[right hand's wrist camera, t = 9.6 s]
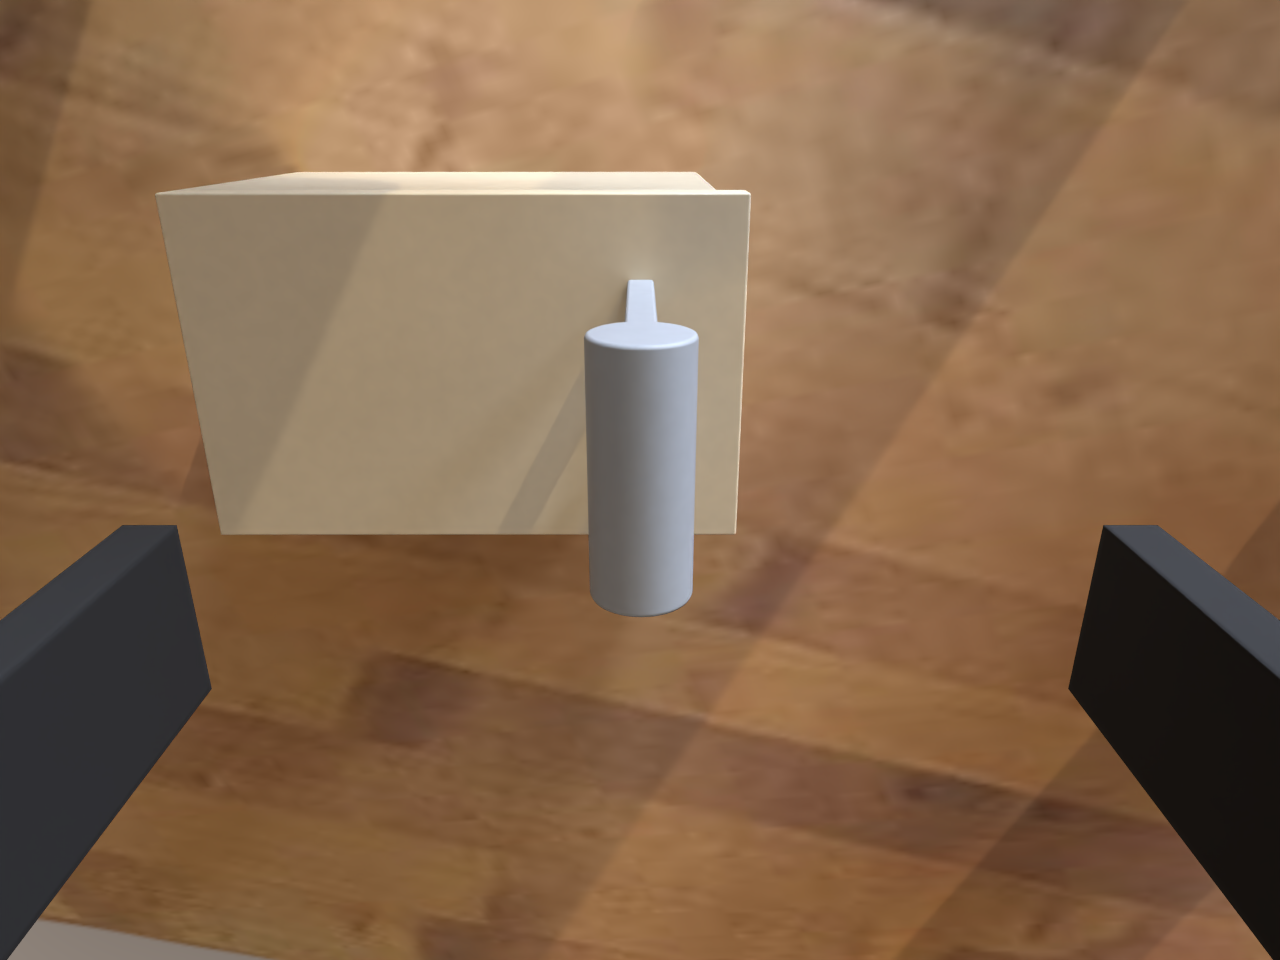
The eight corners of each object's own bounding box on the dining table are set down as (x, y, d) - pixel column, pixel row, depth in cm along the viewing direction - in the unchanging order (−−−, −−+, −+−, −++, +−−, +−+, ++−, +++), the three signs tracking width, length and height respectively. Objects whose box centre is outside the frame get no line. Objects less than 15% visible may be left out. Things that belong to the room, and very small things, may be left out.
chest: (696, 171, 32) (717, 189, 24) (691, 425, 36) (707, 519, 27) (297, 172, 32) (176, 190, 24) (331, 425, 36) (236, 519, 27)
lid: (746, 190, 24) (807, 228, 15) (732, 519, 27) (775, 702, 19) (175, 189, 24) (-91, 228, 15) (236, 520, 27) (51, 703, 19)
